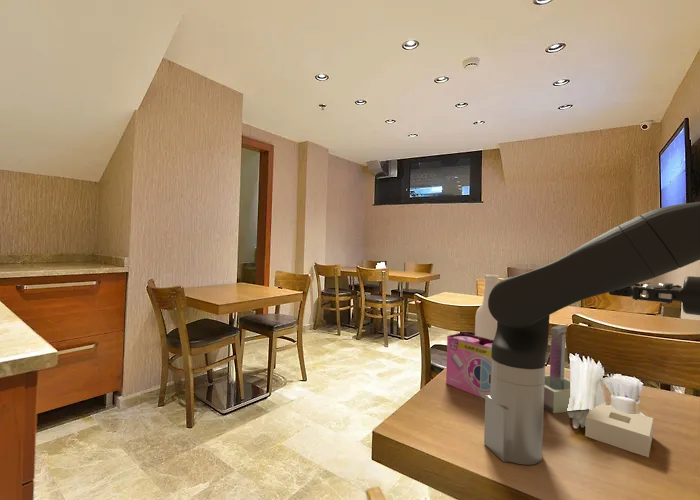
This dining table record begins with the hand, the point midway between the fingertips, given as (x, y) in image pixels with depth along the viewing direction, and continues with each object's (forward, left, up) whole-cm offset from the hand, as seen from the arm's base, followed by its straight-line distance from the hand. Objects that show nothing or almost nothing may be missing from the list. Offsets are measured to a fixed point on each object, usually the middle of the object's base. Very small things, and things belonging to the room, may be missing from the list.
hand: (614, 288), depth 79 cm
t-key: (-5, +10, -29) cm, 31 cm away
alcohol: (-11, +31, -30) cm, 44 cm away
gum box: (-20, +16, -30) cm, 40 cm away
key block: (-5, -6, -30) cm, 31 cm away
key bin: (-6, +10, -30) cm, 32 cm away
